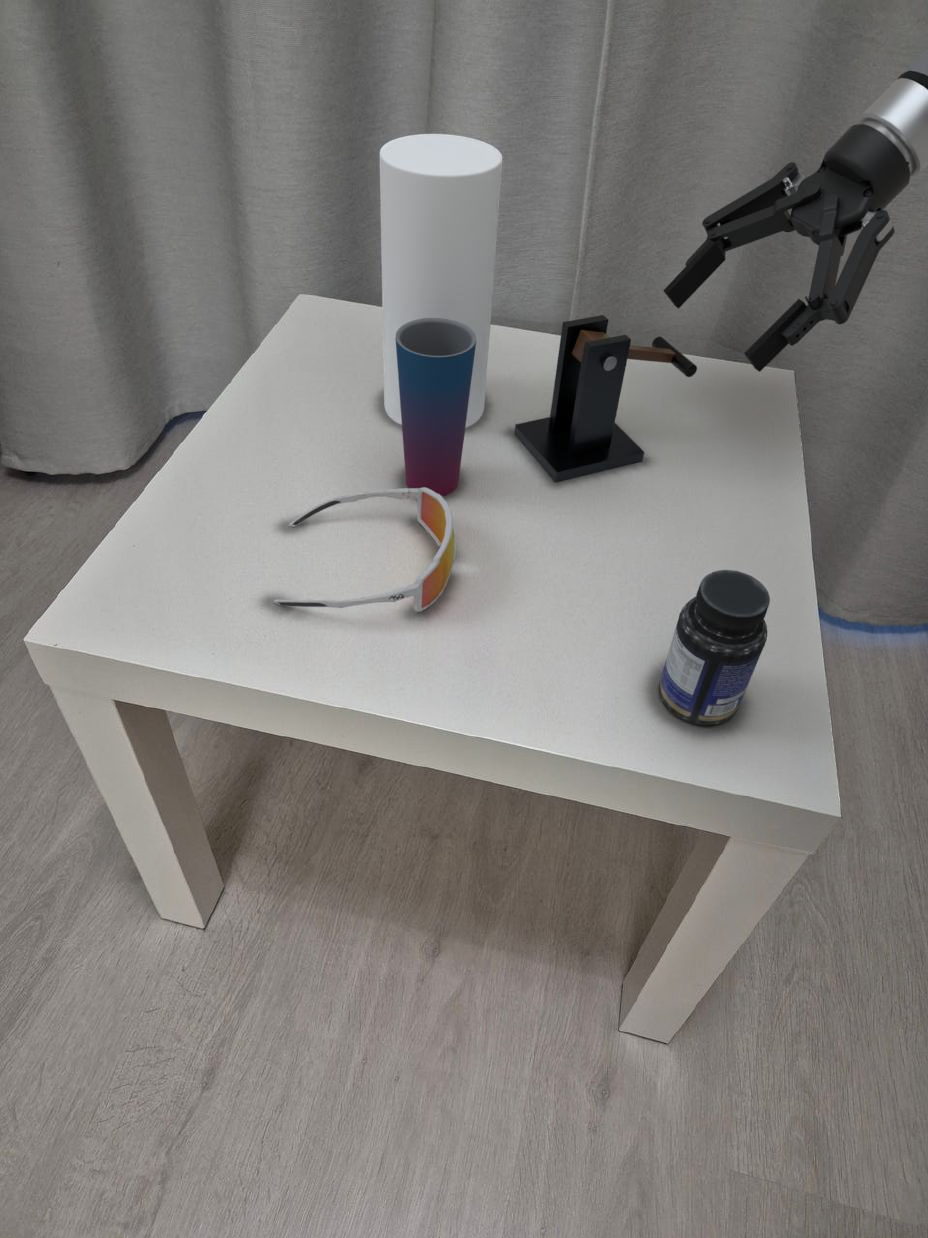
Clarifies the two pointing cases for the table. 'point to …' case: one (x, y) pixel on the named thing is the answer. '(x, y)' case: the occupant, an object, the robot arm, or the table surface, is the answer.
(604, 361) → the bracket
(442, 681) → the table surface
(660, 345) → the lever
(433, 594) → the sunglasses
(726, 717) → the pill bottle
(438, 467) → the cup
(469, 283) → the tall pillar cylinder
